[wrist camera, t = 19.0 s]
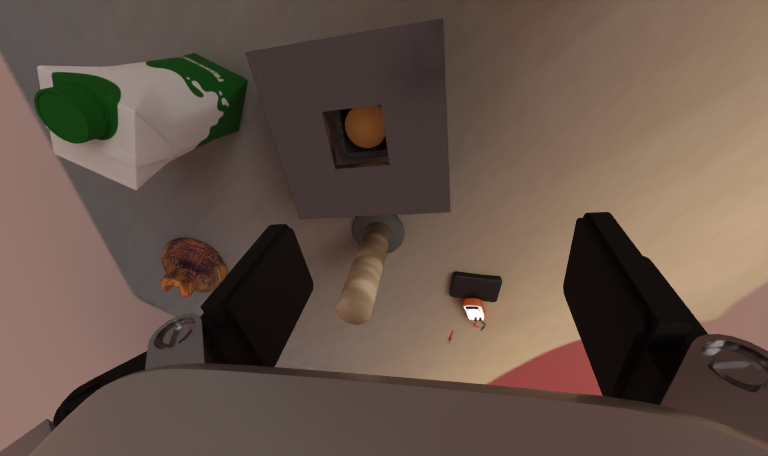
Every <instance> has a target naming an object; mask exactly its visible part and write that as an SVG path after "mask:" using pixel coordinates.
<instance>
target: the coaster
mask: <svg viewBox="0 0 768 456" xmlns="http://www.w3.org/2000/svg"><path fill="white" fill-rule="evenodd" d="M372 222H381V223H384V224H385V225H387V226H388V227H389V229H390V231H391V237H390V241H389V245H388V249H387V253H389V252H392V251H394V250H396V249H397V248H398V247H399V246H400V245H401V243H402V241H403V238H404V228H403V225H402V223H401V222H400V220H399V219H398V218H397V217H396V216H395V215H375V216H357V217H356V219H355V221H354V223H353V227H352V232H353V236H354V238H355V240H356V242H357V243H358V244H359V245H360V243H361V240H362V237H363V235H364V232H365V229H366V227H367V226H368V225H369V224H370V223H372Z"/></svg>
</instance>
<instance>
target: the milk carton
mask: <svg viewBox="0 0 768 456" xmlns="http://www.w3.org/2000/svg"><path fill="white" fill-rule="evenodd" d="M37 70H38V77H39V83H40V88H41V90H39V91H38V92H37V93H36V95H35V99H34V102H35V107H36V110H37V113H38V115H39V117H40V118H41V120H42V121H43V123H44V124H45V125H46V127H47V128H48V129H50V135H51V140H52V145H53V151H54V154H56V155H58V156H60V157H63V158H65V159H67V160H69V161H72V162H74V163H76V164H78V165H80V166H83V167H85V168H87V169H89V170H92V171H94V172H96V173H98V174H101V175H103V176H105V177H107V178H109V179H112V180H114V181H116V182H118V183H121V184H123V185H125V186H127V187H130V188H132V189H134V190H137V189H138V188H139V187H141V186H142V185H143V184H144V183H145V182H146V181H147V180H149V179H150V178H151V177H152V176H153V175H154V174H156V173H157V172H158V171H159V170H160V169H161V168H162V167H164V166H165V165H166V164H167V163H169V162H170V161H172V160H174V159H176V158H178V157H180V156H182V155H184V154H186V153H188V152H190V151H192V150H194V149H196V148H198V147H200V146H202V145H204V144H206V143H207V142H209V141H211V140H213V139H216V138H219V137H222V136H225V135H228V134H231V133H233V132H236V131H239V126H240V120H241V114H242V109H243V103H244V97H245V92H246V86H247V80H246V79H244V78H242V77H241V76H239V75H237V74H235V73H233V72H231V71H229V70H227V69H225V68H223V67H221V66H219V65H217V64H215V63H213V62H211V61H209V60H207V59H205V58H203V57H201V56H199V55H197V54H195V53H193V54H189V55H184V56H180V57H176V58H170V59H162V60H155V61H147V62H140V63H132V64H124V65H117V66H108V67H83V66H38V67H37Z"/></svg>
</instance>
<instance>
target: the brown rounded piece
mask: <svg viewBox="0 0 768 456" xmlns="http://www.w3.org/2000/svg"><path fill="white" fill-rule="evenodd" d="M185 240H186V241H185ZM182 242H183V243H182ZM194 244H195V245H194ZM162 263H163V267H164V269H165V271H166V273H167V274H166V275H165V276H164V277H163V278H162V280H161V287H162V289H163V290H164V291H168V290H170V288H171V287H172V286H173V285H174V286H176V287H178V288H179V290H180V295H182V296H183V297H189V296H190V295H191V294H192V293H193V292H194V291H199V292H209V291H212V290H215V289H216V288H217V287H218V285H219V284H220V283H221V282H222V281H223V278H225V277H226V276H227V268H226V264H225V263H224V262H223V261H222V259H221V258H220V256H219V254H218V252H217V251H215V250H213V248H212V247H210V246H209V245H207V244H205V243H203V242H201V241H198V240H195V239H190V238H178V239H174V240H172V241H171V242H169V243H168V244H167V246H166V247H165V249H164V251H163V256H162ZM216 267H217V268H216ZM214 268H215V269H214ZM214 273H215V274H214Z"/></svg>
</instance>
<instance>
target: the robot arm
mask: <svg viewBox="0 0 768 456" xmlns="http://www.w3.org/2000/svg"><path fill="white" fill-rule="evenodd" d="M563 290H564V295H565V298H566V301H567V303H568V306H569V309H570V311H571V314H572V317H573V319H574V322H575V324H576V327H577V330H578V332H579V335H580V337H581V340H582V343H583V345H584V348H585V351H586V353H587V356H588V358H589V361H590V364H591V366H592V369H593V372H594V374H595V377H596V379H597V382H598V385H599V387H600V390H601V392H602V395H603V396H598V395H588V394H579V393H569V392H560V391H549V390H540V389H530V388H519V387H507V386H496V385H485V384H473V383H462V382H450V381H439V380H427V379H415V378H403V377H391V376H379V375H367V374H354V373H342V372H330V371H317V370H304V369H291V368H277V367H275V365H276V363H277V361H278V359H279V357H280V355H281V353H282V351H283V349H284V347H285V345H286V343H287V341H288V339H289V337H290V335H291V333H292V331H293V329H294V327H295V325H296V323H297V321H298V319H299V317H300V315H301V313H302V311H303V309H304V307H305V305H306V303H307V301H308V299H309V297H310V295H311V293H312V291H313V281H312V278H311V275H310V273H309V270H308V267H307V265H306V262H305V259H304V257H303V254H302V252H301V249H300V246H299V244H298V241H297V238H296V236H295V233H294V231H293V229H292V228H289V226H288V225H286V224H276V225H270V226H268V228H267V229H266V230H265V231H264V232H263V233H262V235H261V236H260V237H259V238H258V239H257V241H256V242H255V243H254V244H253V245H252V246H251V248H250V249H249V250H248V251H247V252H246V254H245V255H244V256H243V257H242V258H241V259H240V261H239V262H238V263H237V264H236V265H235V266H234V268H233V269H232V270H231V271H230V272H229V274H228V275H227V276H226V277H225V278H224V279H223V281H222V282H221V283H220V284H219V285H218V287H217V288H216V289H215V290H214V291H213V292H212V294H211V295H210V296H209V297H208V298H207V300H206V301H205V302H204V303H203V304H202V305H201V309H202V310H203V311H204V313H203V315H202V316H201V317H200V316H199V315H197V314H194V313H188V314H183V315H180V316H177V317H175V318H173V319H171V320H169V321H167V322H166V323H165V324H163V325H162V326H161V327H160V328H159V329H158V330H157V331H156V332H155V333H154V334H153V335H152V337H151V338H150V341H149V344H148V349H147V351H146V352H144V353H143V354H140V355H139V356H137V357H135V358H133V359H131V360H129V361H127V362H125V363H123V364H121V365H119V366H117V367H115V368H113V369H111V370H110V371H108V372H106V373H104V374H102V375H100V376H98V377H96V378H94V379H92V380H90V381H88V382H87V383H85V384H83V385H82V386H80V387H78V388H77V389H75V390H74V391H73V392H72V393H71V394H70V395H69V396H68V397H67V398H66V399H65V400H64V401H63V403H62V404H61V405H60V407H59V408H58V409H57V411H56V413H55V416H54V420H53V421H52V422H51V421H50V420H48V419H46V420H45V421H43V422H42V423H41V424H39V425H38V426H36V427H35V428H33V429H32V430H31V431H29V432H28V433H26V434H25V435H24V436H22V437H21V438H19V439H18V440H16V441H15V442H13V443H12V444H11V445H9V446H8V447H6V448H5V449H3V450H2V451H1V452H0V456H768V351H766V350H765V349H762V348H761V347H759V346H756V345H754V344H752V343H750V342H748V341H745V340H742V339H739V338H736V337H732V336H727V335H721V334H708V333H707V332H706V331H705V329H704V328H703V327H702V326H701V324H700V323H699V322H698V320H697V319H696V318H695V317H694V315H693V314H692V313H691V311H690V310H689V309H688V308H687V306H686V305H685V304H684V302H683V301H682V300H681V298H680V297H679V296H678V295H677V293H676V292H675V291H674V289H673V288H672V287H671V286H670V284H669V283H668V282H667V280H666V279H665V278H664V277H663V275H662V274H661V273H660V271H659V270H658V269H657V268H656V266H655V265H654V264H653V262H652V261H651V260H650V259H649V258H647V257H644V256H642V254H641V253H640V252H639V250H638V249H637V248H636V246H635V245H634V244H633V242H632V241H631V240H630V238H629V237H628V236H627V235H626V233H625V232H624V231H623V229H622V228H621V227H620V225H619V224H618V223H617V221H616V220H615V219H614V217H613V216H612V215H611V214H610V213H609V212H598V213H586V214H585V215H584V216H583V218H578V219H577V221H576V225H575V230H574V235H573V240H572V245H571V250H570V255H569V260H568V264H567V269H566V274H565V279H564V285H563Z"/></svg>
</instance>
